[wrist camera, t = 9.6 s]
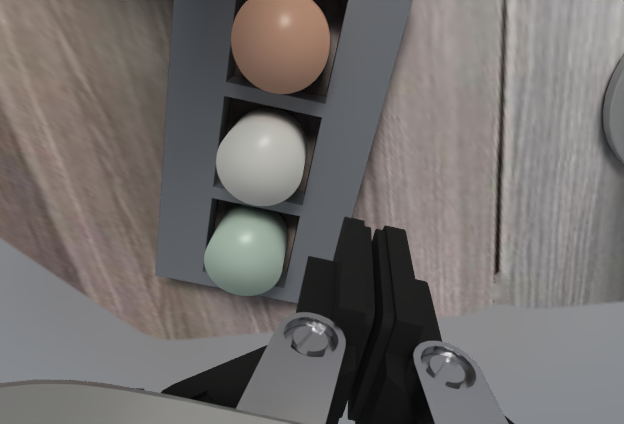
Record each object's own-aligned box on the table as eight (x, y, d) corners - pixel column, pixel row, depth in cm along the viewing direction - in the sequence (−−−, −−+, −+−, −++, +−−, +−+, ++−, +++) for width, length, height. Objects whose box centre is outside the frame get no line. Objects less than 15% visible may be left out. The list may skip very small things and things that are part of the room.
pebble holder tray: (409, -13, 28) (416, -14, 26) (326, 290, 38) (325, 308, 36) (191, -65, 27) (178, -71, 25) (166, 258, 37) (155, 275, 35)
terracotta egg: (339, 1, 28) (340, 1, 24) (320, 90, 30) (318, 103, 26) (251, -19, 27) (238, -23, 23) (239, 72, 30) (225, 82, 26)
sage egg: (294, 210, 34) (289, 238, 30) (281, 270, 36) (275, 302, 32) (222, 196, 34) (208, 221, 30) (214, 256, 36) (200, 287, 32)
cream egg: (314, 117, 31) (311, 133, 27) (298, 188, 33) (294, 213, 29) (235, 99, 31) (221, 114, 27) (225, 173, 33) (211, 196, 29)
